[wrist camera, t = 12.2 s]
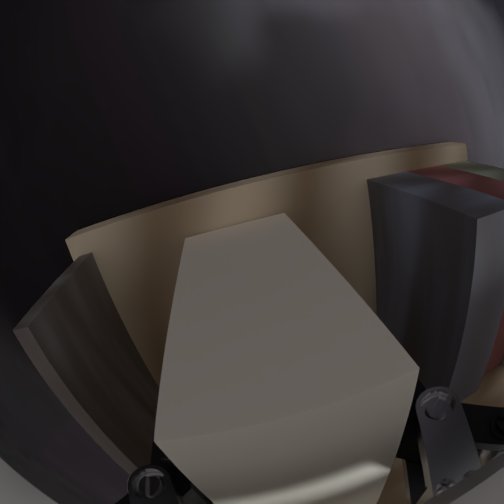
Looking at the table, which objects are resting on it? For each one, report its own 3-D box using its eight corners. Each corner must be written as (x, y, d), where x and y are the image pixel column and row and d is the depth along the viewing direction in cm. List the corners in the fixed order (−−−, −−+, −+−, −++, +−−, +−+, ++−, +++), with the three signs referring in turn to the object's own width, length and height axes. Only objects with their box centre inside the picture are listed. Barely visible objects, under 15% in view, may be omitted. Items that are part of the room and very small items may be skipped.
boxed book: (284, 212, 13) (419, 368, 4) (307, 348, 17) (376, 504, 7) (185, 238, 13) (153, 441, 4) (230, 369, 16) (255, 537, 7)
